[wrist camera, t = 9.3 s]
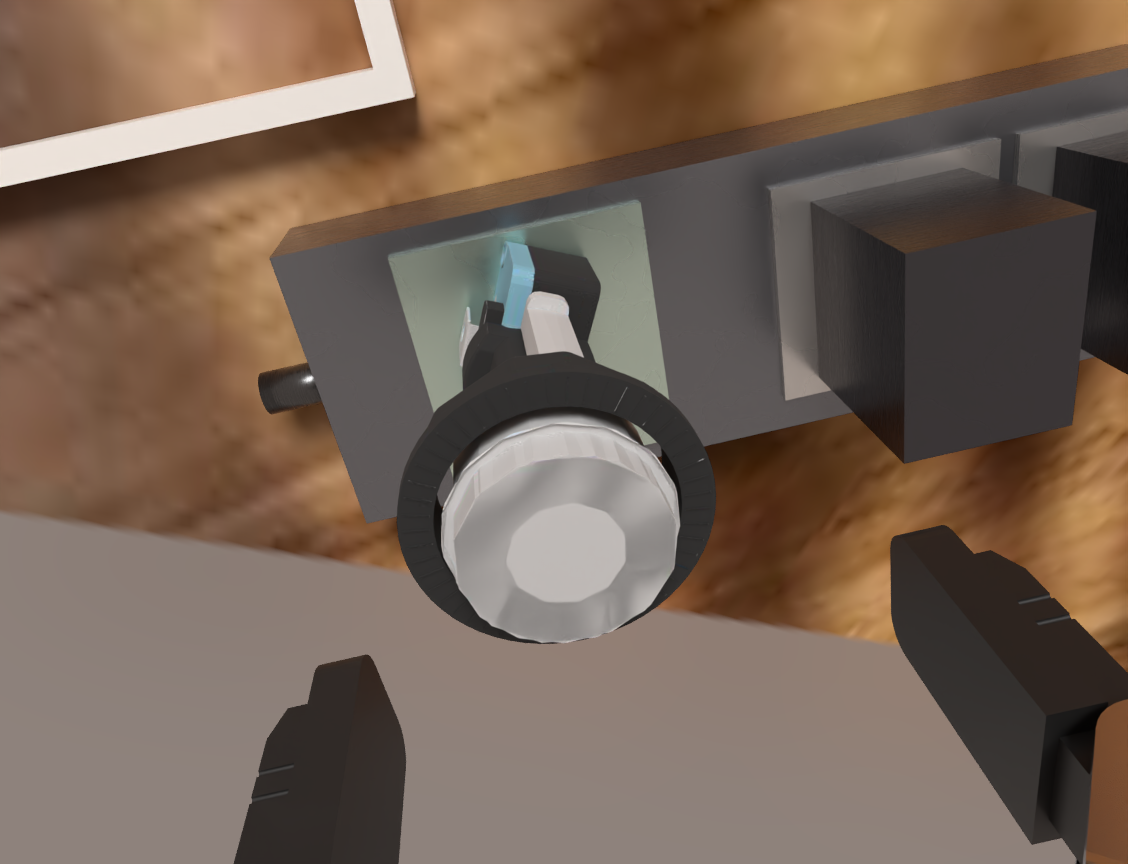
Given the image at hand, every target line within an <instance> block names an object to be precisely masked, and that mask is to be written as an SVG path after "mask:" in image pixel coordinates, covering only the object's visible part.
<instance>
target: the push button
mask: <svg viewBox="0 0 1128 864" xmlns="http://www.w3.org/2000/svg"><path fill="white" fill-rule="evenodd" d="M600 292H601V283H600V281H599V279H598V278H597V276H596V274H595V272H594V270H593V268H592V267H591V265H590V263H589V261H588V259H587V258H586V257H581V256H576V255H571V254H567V253H562V252H557V251H552V250H547V249H543V248H538V247H533V246H528V245H522V244H517V243H512V242H508V241H505V243H504V247H503V251H502V256H501V260H500V271H499V276H498V281H497V286H496V290H495V295H494V300H493V301H489V300H485V302H484V305H483V309H482V314H481V318H480V323H479V326H477V325H472V324H470V322H471V318H470V307H467V308H466V311H465V316H464V321H463V326H462V331H461V336H460V343H459V361H460V366H461V367H462V380H463V391H461V392H460V393H458V394H457V395H456V396H454V397H453V398H451V399H450V400H448V401H447V402H446V403H444V404H443V405H441V406H440V407H439V408H437V410H436V411H435V412H434V414H433V416H432V419H431V421H430V423H429V425H428V427H427V428H426V430H425V431H424V433H423V434H422V435H421V437H420V438H419V439H418V441H417V443H416V445H415V447H414V448H413V450H412V452H411V454H410V456H409V459H408V461H407V463H406V466H405V468H404V472H403V475H402V479H401V483H400V489H399V496H398V505H397V529H398V538H399V542H400V546H401V550H402V553H403V556H404V559H405V561H406V564H407V566H408V568H409V570H410V572H411V574H412V576H413V577H414V579H415V580H416V582H417V583H418V585H419V586H420V587H421V589H422V590H423V591H424V592H425V594H426V595H427V596H428V597H429V598H430V599H431V600H432V601H433V602H434V603H435V604H436V605H437V606H438V607H440V608H441V609H442V610H443V611H444V612H446V613H447V614H449V615H450V616H451V617H453V618H454V619H456V620H458V621H459V622H461V623H463V624H465V625H466V626H468V627H471V628H473V629H475V630H477V631H479V632H482V633H485V634H488V635H491V636H494V637H497V638H502V639H506V640H510V641H517V642H523V643H537V644H554V643H568V642H573V641H579V640H584V639H589V638H594V637H598V636H600V635H602V634H605V633H608V632H612V631H614V630H616V629H618V628H621V627H623V626H625V625H627V624H630V623H632V622H633V621H635V620H637V619H639V618H641V617H642V616H644V615H645V614H647V613H648V612H650V611H651V610H653V609H654V608H656V607H657V606H658V605H660V604H661V603H662V602H663V601H664V600H666V599H667V598H668V597H669V596H670V595H671V594H672V593H673V592H674V591H675V590H676V589H677V588H678V587H679V586H680V585H681V584H682V583H683V581H684V580H685V579H686V578H687V577H688V575H689V574H690V572H691V571H692V570H693V568H694V567H695V565H696V564H697V562H698V560H699V558H700V556H701V555H702V553H703V551H704V548H705V546H706V544H707V541H708V539H709V536H710V532H711V529H712V525H713V521H714V515H715V506H716V490H715V480H714V475H713V470H712V466H711V463H710V461H709V458H708V455H707V452H706V450H705V448H704V446H703V444H702V442H701V440H700V439H699V437H698V435H697V433H696V432H695V430H694V429H693V427H692V426H691V424H690V423H689V421H688V420H687V418H686V417H685V416H684V415H683V414H682V412H681V411H680V410H679V409H678V408H677V407H676V406H675V405H674V404H673V403H672V402H671V401H670V400H669V399H667V398H666V397H665V396H664V395H662V394H661V393H660V392H658V391H657V390H655V389H654V388H653V387H651V386H649V385H648V384H646V383H645V382H643V381H640V380H638V379H636V378H633V377H631V376H629V375H626V374H624V373H621V372H618V371H615V370H613V369H611V368H608V367H606V366H603V365H601V364H598V363H596V361H595V359H594V356H593V353H592V351H591V348H590V346H589V344H588V339H589V335H590V332H591V328H592V324H593V320H594V317H595V313H596V309H597V305H598V302H599V298H600ZM632 423H633V424H634V425H636V426H638V427H639V428H641V429H642V430H643V431H645V432H646V433H647V434H649V435H650V436H651V437H652V438H653V439H654V440H655V441H656V442H657V443H658V444H659V445H660V446H661V454H662V464H661V463H660V461H659V460H658V458H657V457H656V456H655V455H654V454H653V453H652V452H651V451H650V450H649V449H648V448H646V447H644V445H643V442H642V440H641V438H640V435H639V433H638V431H637V430H636V428H635V427H634V425H633V424H632ZM452 463H453V489H452V491H451V493H450V494H449V496H448V498H447V500H446V502H445V504H444V508H443V510H442V508H441V505H440V503H439V500H438V496H437V493H438V490H439V487H440V484H441V482H442V480H443V478H444V476H445V474H446V472H447V470H448V469H449V467H450V466H451V465H452Z"/></svg>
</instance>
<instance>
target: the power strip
mask: <svg viewBox="0 0 1128 864" xmlns="http://www.w3.org/2000/svg"><path fill="white" fill-rule="evenodd" d="M505 241H508V242H512V243H517V244H522V245H528V246H533V247H538V248H543V249H547V250H552V251H557V252H562V253H567V254H571V255H576V256H581V257H586V258H587V259H588V261H589V263H590V265H591V267H592V268H593V270H594V272H595V274H596V276H597V278H598V279H599V281H600V283H601V292H600V298H599V302H598V305H597V309H596V313H595V317H594V320H593V324H592V328H591V332H590V335H589V339H588V344H589V346H590V348H591V351H592V353H593V356H594V359H595V361H596V363H598V364H601V365H603V366H606V367H608V368H611V369H613V370H615V371H618V372H621V373H624V374H626V375H629V376H631V377H633V378H636V379H638V380H640V381H643V382H645V383H646V384H648V385H649V386H651V387H653V388H654V389H655V390H657V391H658V392H660V393H661V394H662V395H664V396H665V397H666V398H667V399H669V400H670V401H671V402H672V403H673V404H674V405H675V406H676V407H677V408H678V409H679V410H680V411H681V412H682V414H683V415H684V416H685V417H686V418H687V420H688V421H689V423H690V424H691V426H692V427H693V429H694V430H695V432H696V433H697V435H698V437H699V439H700V440H701V442H702V444H703V446H708V445H712V444H717V443H721V442H725V441H730V440H734V439H739V438H743V437H747V436H752V435H756V434H760V433H765V432H769V431H774V430H778V429H782V428H787V427H791V426H795V425H800V424H804V423H809V422H813V421H817V420H822V419H826V418H830V417H835V416H839V415H844V414H848V413H852V412H854V413H855V414H856V415H857V416H858V417H859V418H860V419H861V421H862V422H863V423H864V424H865V425H866V426H867V427H868V428H869V429H870V430H871V431H872V432H873V433H874V434H875V435H876V436H877V437H878V438H879V439H880V440H881V441H882V442H883V443H884V444H885V445H886V446H887V447H888V448H889V449H890V450H891V451H892V452H893V453H894V454H895V455H896V456H897V457H898V458H899V459H900V460H901V461H902V462H903V463H904V464H905V463H909V462H914V461H918V460H922V459H927V458H931V457H935V456H940V455H944V454H948V453H953V452H957V451H962V450H966V449H970V448H975V447H979V446H983V445H988V444H992V443H996V442H1001V441H1005V440H1009V439H1014V438H1018V437H1022V436H1027V435H1031V434H1035V433H1040V432H1044V431H1048V430H1053V429H1057V428H1062V427H1066V426H1070V425H1072V420H1073V412H1074V403H1075V394H1076V386H1077V377H1078V368H1079V361H1080V360H1084V359H1089V358H1093V357H1097V358H1098V359H1100V360H1102V361H1104V362H1106V363H1107V364H1109V365H1111V366H1113V367H1115V368H1117V369H1118V370H1120V371H1122V372H1124V373H1126V374H1128V45H1127V44H1125V45H1120V46H1116V47H1111V48H1106V49H1102V50H1097V51H1093V52H1088V53H1084V54H1079V55H1075V56H1070V57H1066V58H1061V59H1057V60H1052V61H1048V62H1043V63H1039V64H1034V65H1029V66H1025V67H1020V68H1016V69H1011V70H1007V71H1002V72H998V73H993V74H989V75H984V76H980V77H975V78H971V79H966V80H962V81H957V82H952V83H948V84H943V85H939V86H934V87H930V88H925V89H921V90H916V91H912V92H907V93H903V94H898V95H894V96H889V97H885V98H880V99H875V100H871V101H866V102H862V103H857V104H853V105H848V106H844V107H839V108H835V109H830V110H826V111H821V112H817V113H812V114H807V115H803V116H798V117H794V118H789V119H785V120H780V121H776V122H771V123H767V124H762V125H758V126H753V127H749V128H744V129H740V130H735V131H730V132H726V133H721V134H717V135H712V136H708V137H703V138H699V139H694V140H690V141H685V142H681V143H676V144H672V145H667V146H663V147H658V148H653V149H649V150H644V151H640V152H635V153H631V154H626V155H622V156H617V157H613V158H608V159H604V160H599V161H595V162H590V163H586V164H581V165H576V166H572V167H567V168H563V169H558V170H554V171H549V172H545V173H540V174H536V175H531V176H527V177H522V178H518V179H513V180H509V181H504V182H499V183H495V184H490V185H486V186H481V187H477V188H472V189H468V190H463V191H459V192H454V193H450V194H445V195H441V196H436V197H432V198H427V199H422V200H418V201H413V202H409V203H404V204H400V205H395V206H391V207H386V208H382V209H377V210H373V211H368V212H364V213H359V214H355V215H350V216H345V217H341V218H336V219H332V220H327V221H323V222H318V223H314V224H309V225H305V226H300V227H296V228H291V229H290V230H289V231H288V232H287V234H286V235H285V237H284V238H283V240H282V241H281V242H280V244H279V245H278V247H277V248H276V250H275V251H274V252H273V254H272V255H271V257H270V261H271V264H272V266H273V269H274V272H275V274H276V277H277V280H278V283H279V285H280V288H281V291H282V293H283V296H284V299H285V302H286V304H287V307H288V310H289V313H290V315H291V318H292V321H293V323H294V326H295V329H296V332H297V334H298V337H299V340H300V343H301V345H302V348H303V351H304V353H305V356H306V359H307V362H308V363H303V364H299V365H294V366H290V367H285V368H281V369H276V370H272V371H267V372H263V373H260V374H259V377H258V386H259V392H260V396H261V399H262V402H263V404H264V406H265V408H266V410H267V411H268V412H269V413H270V414H276V413H280V412H285V411H289V410H293V409H298V408H302V407H307V406H311V405H316V404H320V403H323V405H324V408H325V411H326V413H327V416H328V419H329V422H330V424H331V427H332V430H333V432H334V435H335V438H336V441H337V443H338V446H339V449H340V452H341V454H342V457H343V460H344V462H345V465H346V468H347V471H348V473H349V476H350V479H351V482H352V484H353V487H354V490H355V492H356V495H357V498H358V501H359V503H360V506H361V509H362V512H363V514H364V517H365V520H366V522H367V523H371V522H375V521H380V520H384V519H388V518H393V517H397V505H398V496H399V489H400V483H401V479H402V475H403V472H404V468H405V466H406V463H407V461H408V459H409V456H410V454H411V452H412V450H413V448H414V447H415V445H416V443H417V441H418V439H419V438H420V437H421V435H422V434H423V433H424V431H425V430H426V428H427V427H428V425H429V423H430V421H431V419H432V416H433V414H434V412H435V411H436V410H437V408H439V407H440V406H441V405H443V404H444V403H446V402H447V401H448V400H450V399H451V398H453V397H454V396H456V395H457V394H458V393H460V392H461V391H463V380H462V367H461V366H460V361H459V343H460V336H461V331H462V326H463V321H464V316H465V311H466V308H467V307H470V318H471V322H470V324H472V325H477V326H479V323H480V318H481V314H482V309H483V305H484V302H485V300H489V301H493V300H494V295H495V290H496V286H497V281H498V276H499V271H500V260H501V256H502V251H503V247H504V243H505ZM632 424H633V423H632ZM633 425H634V424H633ZM634 427H635V428H636V430H637V431H638V433H639V435H640V438H641V440H642V442H643V445H644V447H646V448H648V449H649V450H650V451H651V452H652V453H653V454H654V455H655V456H656V457H660V456H662V454H661V446H660V445H659V444H658V443H657V442H656V441H655V440H654V439H653V438H652V437H651V436H650V435H649V434H647V433H646V432H645V431H643V430H642V429H641V428H639V427H638V426H636V425H634ZM452 489H453V463H452V465H451V466H450V467H449V469H448V470H447V472H446V474H445V476H444V478H443V480H442V482H441V484H440V487H439V490H438V493H437V496H438V500H439V503H440V505H441V506H444V504H445V502H446V500H447V498H448V496H449V494H450V493H451V491H452Z"/></svg>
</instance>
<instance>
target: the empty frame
mask: <svg viewBox="0 0 1128 864" xmlns="http://www.w3.org/2000/svg"><path fill="white" fill-rule="evenodd" d="M354 1H355V4H356V8H357V11H358V15H359V19H360V22H361V26H362V30H363V33H364V37H365V40H366V44H367V48H368V51H369V55H370V59H371V62H372V66H373V67H372V68H367V69H363V70H358V71H354V72H349V73H344V74H340V75H335V76H331V77H326V78H321V79H317V80H312V81H308V82H303V83H298V84H294V85H289V86H285V87H280V88H275V89H271V90H266V91H262V92H257V93H252V94H248V95H243V96H239V97H234V98H229V99H225V100H220V101H215V102H211V103H206V104H202V105H197V106H192V107H188V108H183V109H179V110H174V111H169V112H165V113H160V114H156V115H151V116H146V117H142V118H137V119H133V120H128V121H123V122H119V123H114V124H110V125H105V126H100V127H96V128H91V129H87V130H82V131H77V132H73V133H68V134H64V135H59V136H54V137H50V138H45V139H41V140H36V141H31V142H27V143H22V144H18V145H13V146H8V147H4V148H0V187H5V186H9V185H14V184H18V183H23V182H27V181H32V180H37V179H41V178H46V177H50V176H55V175H60V174H64V173H69V172H73V171H78V170H82V169H87V168H92V167H96V166H101V165H105V164H110V163H115V162H119V161H124V160H128V159H133V158H137V157H142V156H147V155H151V154H156V153H160V152H165V151H170V150H174V149H179V148H183V147H188V146H192V145H197V144H202V143H206V142H211V141H215V140H220V139H225V138H229V137H234V136H238V135H243V134H247V133H252V132H257V131H261V130H266V129H270V128H275V127H280V126H284V125H289V124H293V123H298V122H302V121H307V120H312V119H316V118H321V117H325V116H330V115H335V114H339V113H344V112H348V111H353V110H357V109H362V108H367V107H371V106H376V105H380V104H385V103H390V102H394V101H399V100H403V99H408V98H412V97H415V94H416V90H415V86H414V82H413V79H412V75H411V71H410V67H409V63H408V59H407V55H406V51H405V47H404V43H403V39H402V36H401V32H400V28H399V24H398V20H397V16H396V12H395V8H394V4H393V0H354Z"/></svg>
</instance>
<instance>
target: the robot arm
mask: <svg viewBox="0 0 1128 864" xmlns="http://www.w3.org/2000/svg"><path fill="white" fill-rule="evenodd" d="M890 557H891V616H892V622H893V626H894V630H895V633H896V637H897V639H898V642H899V644H900V646H901V648H902V650H903V652H904V654H905V656H906V657H907V658H908V660H909V662H910V663H911V665H912V666H913V667H914V669H915V670H916V672H917V674H918V675H919V677H920V678H921V680H922V681H923V683H924V684H925V686H926V687H927V689H928V690H929V692H930V693H931V695H932V696H933V697H934V699H935V700H936V702H937V704H938V705H939V707H940V708H941V709H942V711H943V713H944V714H945V716H946V717H947V718H948V720H949V721H950V723H951V724H952V726H953V728H954V729H955V730H956V732H957V734H958V735H959V737H960V738H961V739H962V741H963V743H964V744H965V745H966V747H967V748H968V750H969V751H970V753H971V754H972V756H973V757H974V759H975V760H976V762H977V763H978V764H979V766H980V768H981V769H982V771H983V772H984V774H985V775H986V777H987V778H988V780H989V781H990V783H991V784H992V786H993V787H994V789H995V790H996V792H997V793H998V795H999V796H1000V798H1001V799H1002V801H1003V802H1004V804H1005V805H1006V807H1007V808H1008V810H1009V811H1010V813H1011V814H1012V816H1013V817H1014V819H1015V820H1016V822H1017V823H1018V825H1019V826H1020V827H1021V829H1022V831H1023V832H1024V834H1025V835H1026V837H1027V838H1028V840H1029V841H1030V843H1031V844H1032V845H1033V844H1037V843H1041V842H1046V841H1050V840H1054V839H1059V838H1062V839H1063V840H1064V841H1065V843H1066V844H1067V845H1068V847H1069V849H1070V850H1071V851H1072V853H1073V854H1074V855H1075V857H1076V861H1075V864H1128V673H1127V672H1126V671H1125V670H1124V669H1123V668H1122V667H1121V666H1120V665H1119V664H1118V663H1117V662H1116V661H1115V660H1114V659H1113V657H1112V656H1111V655H1110V654H1109V653H1108V652H1107V651H1106V650H1105V649H1104V648H1103V647H1102V646H1101V645H1100V644H1099V643H1098V642H1097V641H1096V640H1095V639H1094V638H1093V637H1092V636H1091V635H1090V634H1089V633H1088V632H1087V631H1086V630H1085V629H1084V628H1083V627H1082V626H1081V625H1080V624H1079V623H1078V622H1077V621H1076V620H1075V619H1071V618H1070V615H1069V613H1068V612H1067V611H1066V609H1065V608H1064V607H1063V606H1062V605H1061V604H1060V603H1059V602H1058V601H1057V600H1056V599H1055V598H1051V597H1050V593H1049V592H1048V591H1047V590H1046V589H1045V588H1044V587H1043V586H1042V585H1041V584H1040V583H1039V582H1038V581H1037V580H1036V579H1035V578H1034V577H1033V576H1032V575H1031V574H1030V573H1029V572H1028V571H1027V570H1026V569H1025V568H1023V567H1022V566H1020V565H1018V564H1016V563H1014V562H1012V561H1010V560H1008V559H1006V558H1004V557H1003V556H1001V555H999V554H997V553H995V552H993V551H991V550H990V551H985V552H981V553H976V554H973V552H972V551H971V550H970V549H969V548H968V547H967V546H966V545H965V544H964V543H963V541H962V540H961V539H960V538H959V537H958V536H957V535H956V534H955V533H954V532H953V531H952V530H951V529H950V528H949V527H947V526H945V525H941V526H936V527H932V528H928V529H923V530H919V531H914V532H910V533H906V534H901V535H897V536H894V537H893V538H892V541H891V547H890ZM405 754H406V753H405V745H404V739H403V734H402V730H401V727H400V724H399V721H398V719H397V716H396V714H395V712H394V709H393V707H392V704H391V702H390V699H389V697H388V695H387V692H386V690H385V687H384V685H383V683H382V681H381V678H380V676H379V673H378V671H377V668H376V666H375V664H374V661H373V660H372V659H371V657H370V656H369V655H362V656H358V657H353V658H349V659H345V660H340V661H336V662H331V663H327V664H323V665H319V666H318V667H317V668H316V670H315V673H314V677H313V682H312V686H311V691H310V695H309V700H308V704H305V705H301V706H296V707H292V708H288V709H287V711H286V712H285V714H284V715H283V716H282V718H281V719H280V721H279V722H278V724H277V725H276V727H275V728H274V730H273V731H272V733H271V734H270V735H269V737H268V738H267V741H266V744H265V748H264V752H263V756H262V759H261V763H260V767H259V777H257V778H256V782H255V786H254V790H253V793H252V804H250V805H249V808H248V812H247V816H246V820H245V823H244V828H243V831H242V835H241V839H240V842H239V846H238V850H237V853H236V857H235V861H234V864H398V862H399V849H400V836H401V822H402V811H403V796H404V783H405V771H406V755H405Z"/></svg>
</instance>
